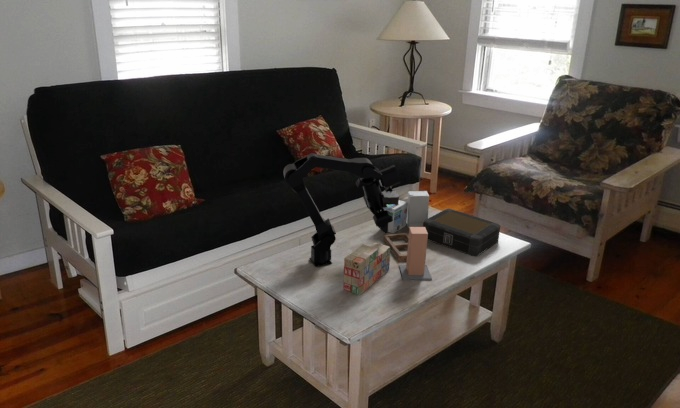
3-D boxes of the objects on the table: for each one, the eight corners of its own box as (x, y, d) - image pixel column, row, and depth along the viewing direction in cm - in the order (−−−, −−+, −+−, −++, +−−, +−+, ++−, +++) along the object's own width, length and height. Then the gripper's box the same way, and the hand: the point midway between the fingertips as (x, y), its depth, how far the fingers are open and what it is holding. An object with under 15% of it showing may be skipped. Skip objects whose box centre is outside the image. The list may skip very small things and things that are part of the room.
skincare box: (424, 223, 241) (427, 190, 236) (427, 228, 236) (430, 195, 230) (405, 222, 241) (407, 190, 235) (407, 228, 235) (410, 195, 230)
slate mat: (403, 279, 195) (403, 278, 195) (399, 266, 205) (399, 264, 204) (431, 279, 196) (431, 278, 196) (426, 266, 205) (426, 264, 205)
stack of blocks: (374, 265, 205) (375, 234, 200) (389, 270, 202) (391, 238, 197) (342, 290, 188) (343, 257, 184) (359, 295, 185) (360, 262, 180)
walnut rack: (399, 260, 208) (399, 256, 208) (383, 239, 225) (383, 234, 224) (424, 258, 211) (424, 253, 210) (406, 237, 227) (406, 232, 227)
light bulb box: (393, 233, 230) (394, 209, 226) (379, 229, 234) (380, 205, 230) (406, 225, 238) (408, 202, 234) (393, 221, 242) (394, 198, 238)
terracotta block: (408, 275, 197) (411, 233, 191) (406, 267, 202) (409, 226, 196) (424, 275, 198) (428, 233, 192) (421, 267, 203) (425, 226, 197)
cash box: (419, 238, 227) (420, 221, 224) (445, 223, 242) (447, 207, 239) (475, 258, 212) (477, 240, 209) (499, 241, 227) (502, 224, 224)
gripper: (401, 197, 192) (411, 232, 200) (386, 172, 208) (396, 205, 216) (371, 208, 192) (381, 243, 200) (358, 182, 207) (368, 215, 216)
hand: (382, 226), depth 208 cm, fingers open, 9 cm apart
